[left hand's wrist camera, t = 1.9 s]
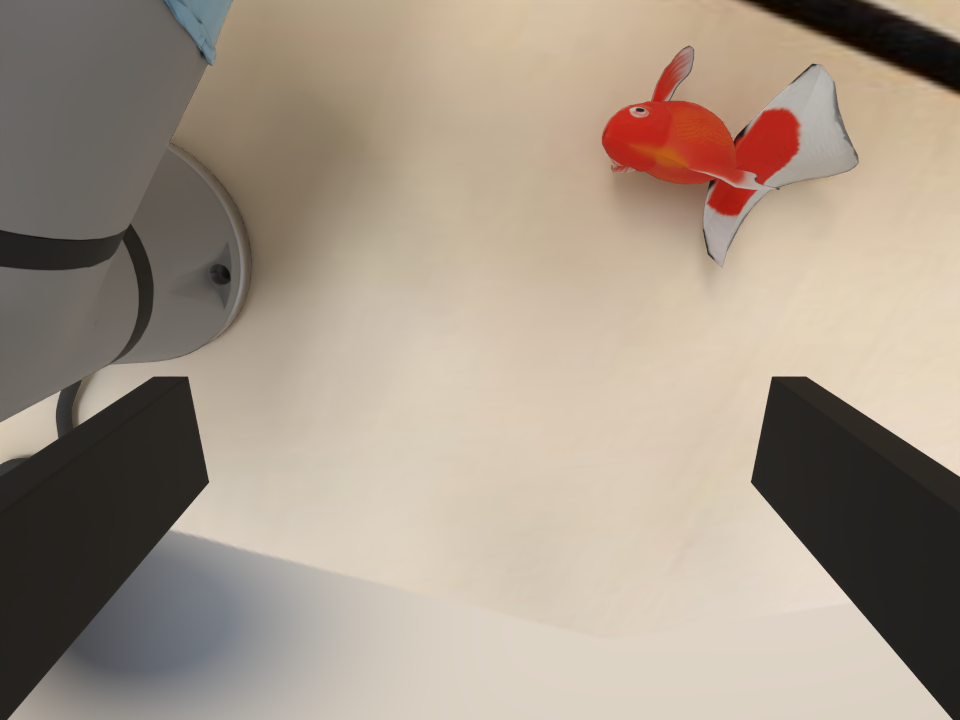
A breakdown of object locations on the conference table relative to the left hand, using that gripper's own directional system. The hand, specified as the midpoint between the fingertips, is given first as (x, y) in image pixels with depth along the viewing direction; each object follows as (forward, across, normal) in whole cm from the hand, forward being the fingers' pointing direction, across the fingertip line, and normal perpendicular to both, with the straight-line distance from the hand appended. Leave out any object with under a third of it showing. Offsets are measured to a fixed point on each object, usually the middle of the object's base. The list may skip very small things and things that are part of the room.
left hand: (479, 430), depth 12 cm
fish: (+26, -15, -6) cm, 31 cm away
